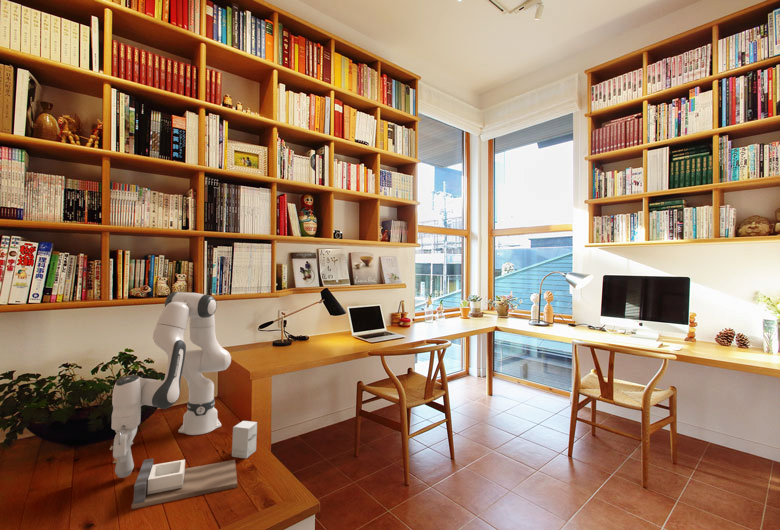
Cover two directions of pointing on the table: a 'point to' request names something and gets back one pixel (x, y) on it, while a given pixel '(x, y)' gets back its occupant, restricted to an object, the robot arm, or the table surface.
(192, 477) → the board
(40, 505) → the table surface
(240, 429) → the supplement box
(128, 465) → the salt shaker
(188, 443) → the table surface
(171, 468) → the frame
